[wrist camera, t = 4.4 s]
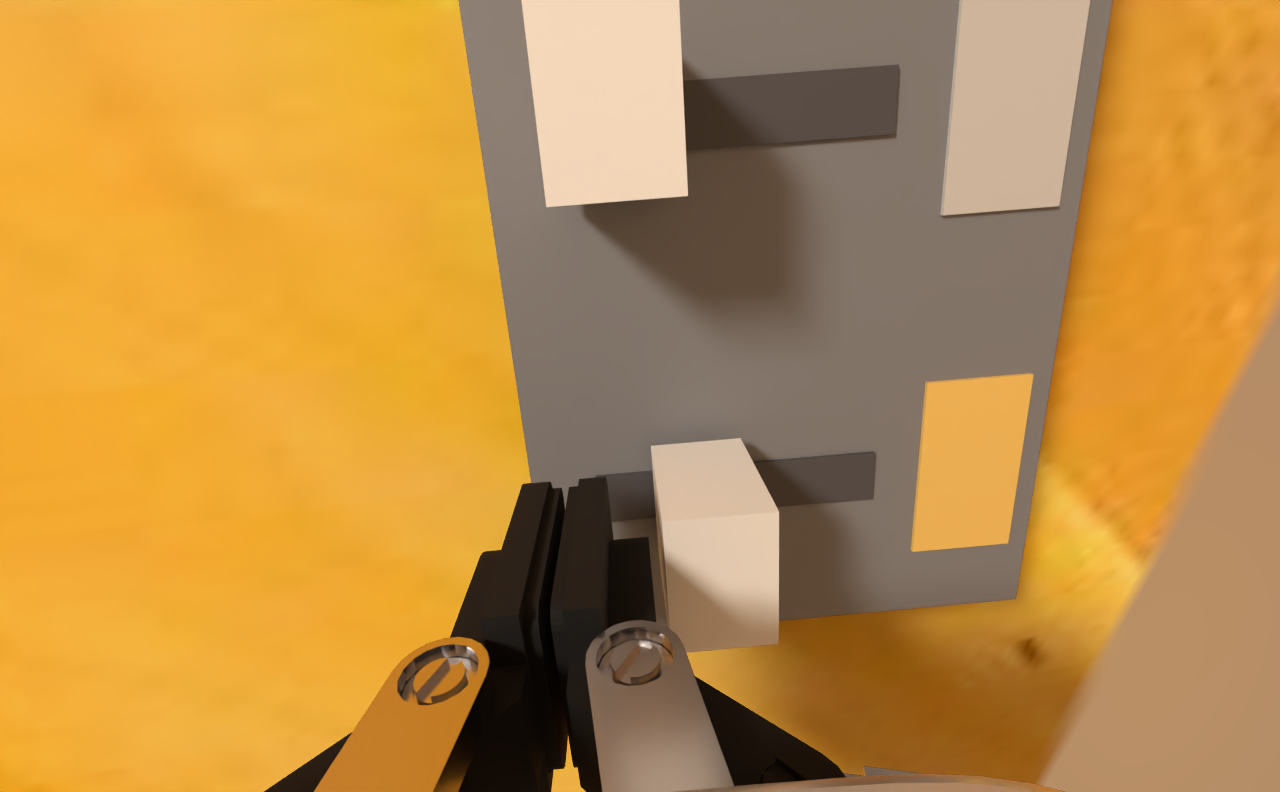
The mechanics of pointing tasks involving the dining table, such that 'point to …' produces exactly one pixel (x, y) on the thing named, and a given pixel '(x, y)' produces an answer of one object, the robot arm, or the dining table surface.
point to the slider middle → (607, 99)
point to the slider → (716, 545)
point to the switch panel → (815, 280)
